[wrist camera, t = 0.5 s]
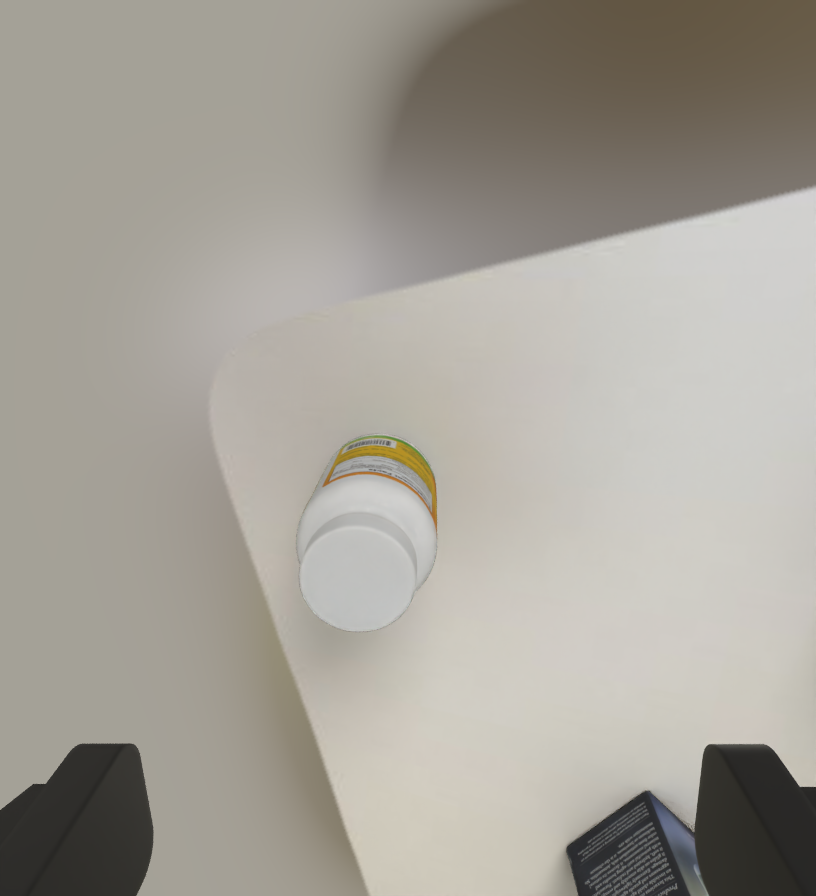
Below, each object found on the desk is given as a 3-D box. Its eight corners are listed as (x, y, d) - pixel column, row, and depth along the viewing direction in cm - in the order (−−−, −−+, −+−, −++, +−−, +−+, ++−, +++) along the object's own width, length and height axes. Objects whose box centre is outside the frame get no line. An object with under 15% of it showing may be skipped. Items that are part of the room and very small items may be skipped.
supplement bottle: (385, 557, 32) (365, 680, 22) (302, 488, 31) (245, 586, 22) (459, 481, 30) (470, 578, 21) (374, 407, 30) (347, 474, 20)
